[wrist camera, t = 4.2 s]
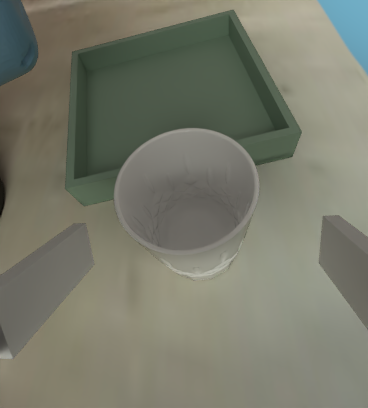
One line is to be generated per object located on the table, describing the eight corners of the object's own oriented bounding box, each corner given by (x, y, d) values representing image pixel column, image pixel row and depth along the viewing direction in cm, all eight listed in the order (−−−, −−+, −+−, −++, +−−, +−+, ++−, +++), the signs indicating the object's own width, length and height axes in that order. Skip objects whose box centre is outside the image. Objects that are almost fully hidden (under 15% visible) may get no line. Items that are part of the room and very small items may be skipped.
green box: (84, 206, 26) (65, 188, 23) (85, 75, 36) (72, 51, 33) (292, 156, 25) (301, 131, 22) (232, 37, 35) (233, 9, 32)
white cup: (264, 242, 21) (292, 179, 13) (198, 310, 20) (177, 291, 11) (200, 188, 25) (188, 108, 16) (139, 241, 23) (87, 185, 14)
